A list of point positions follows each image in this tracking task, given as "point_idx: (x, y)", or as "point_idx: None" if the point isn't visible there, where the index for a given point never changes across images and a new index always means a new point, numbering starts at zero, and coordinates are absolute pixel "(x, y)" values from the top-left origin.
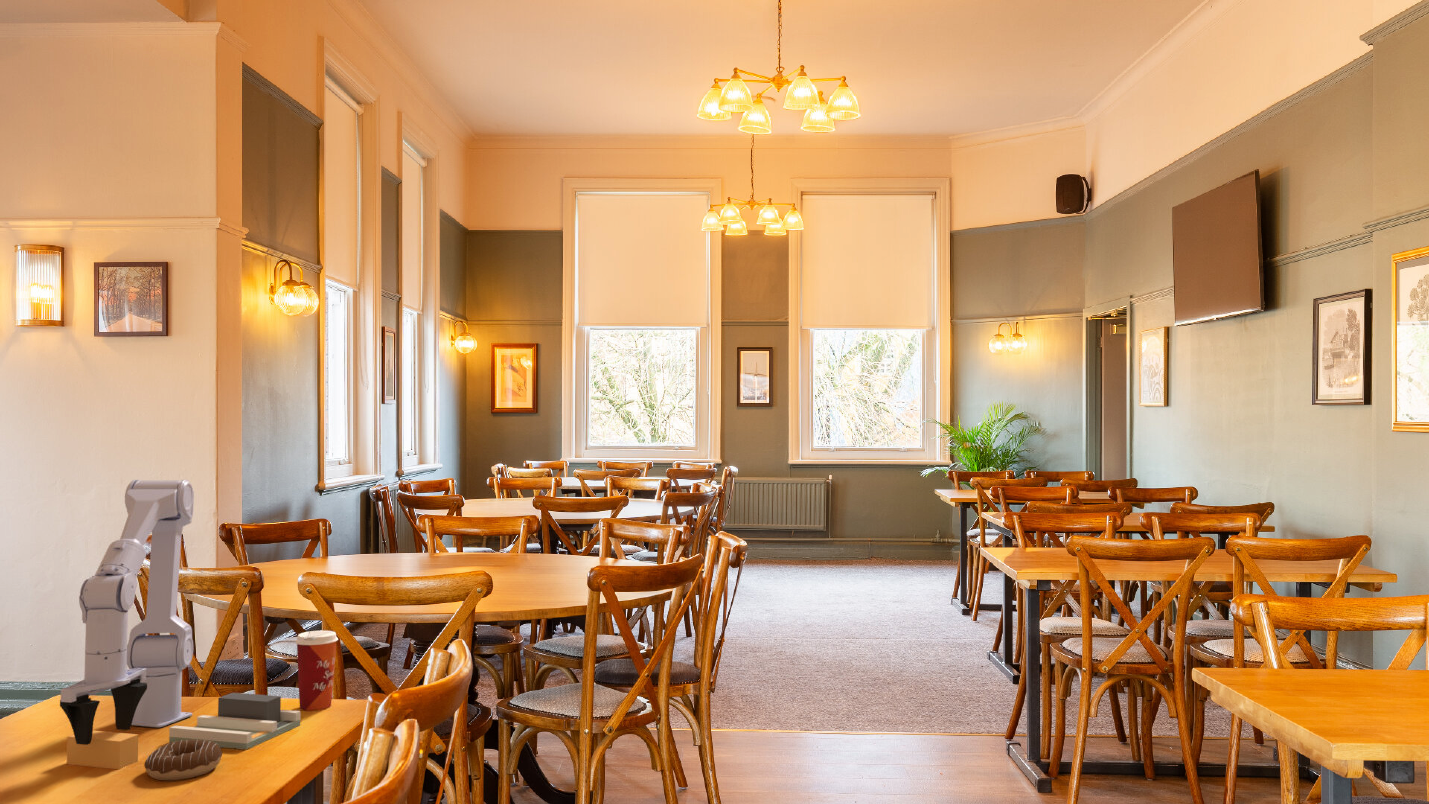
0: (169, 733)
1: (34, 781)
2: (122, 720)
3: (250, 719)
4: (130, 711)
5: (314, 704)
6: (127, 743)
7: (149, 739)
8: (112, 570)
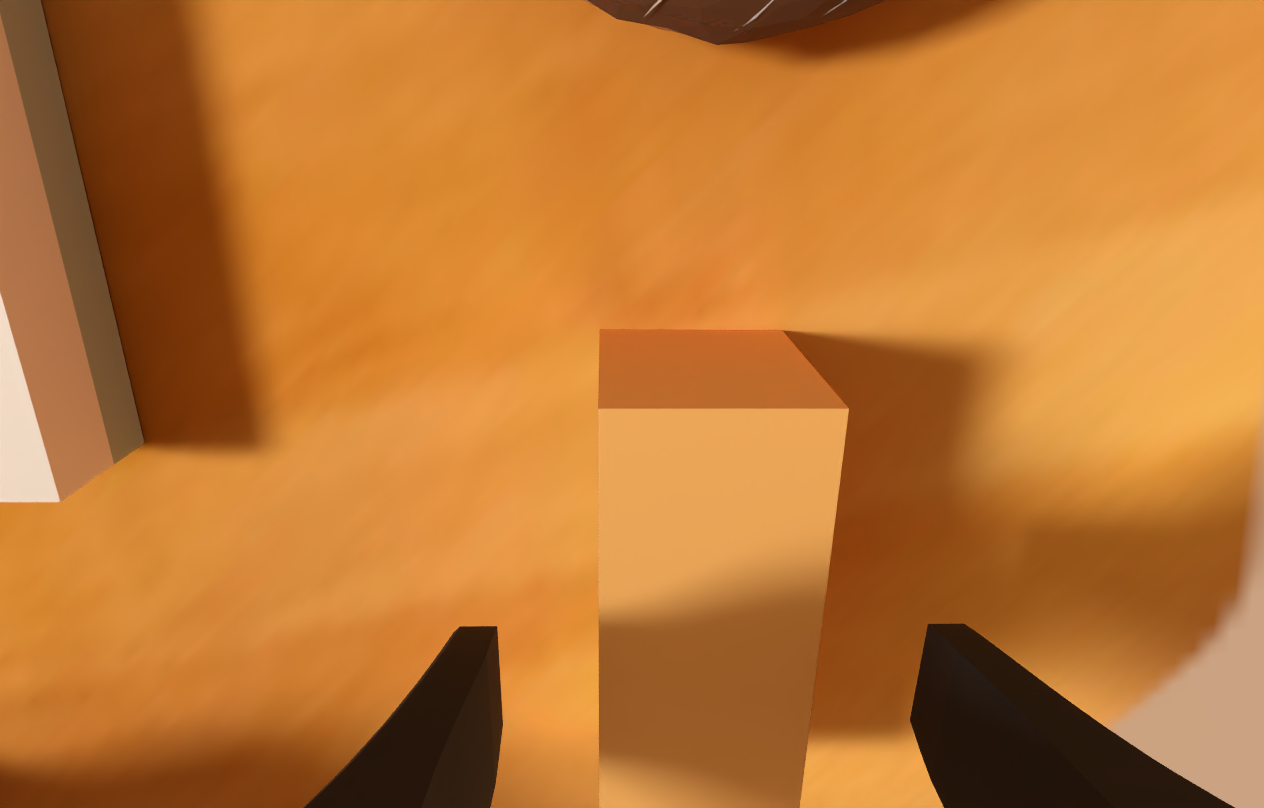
0: (94, 477)
1: (1063, 656)
2: (481, 747)
3: None
4: (442, 758)
5: None
6: (741, 389)
7: (158, 631)
8: None
